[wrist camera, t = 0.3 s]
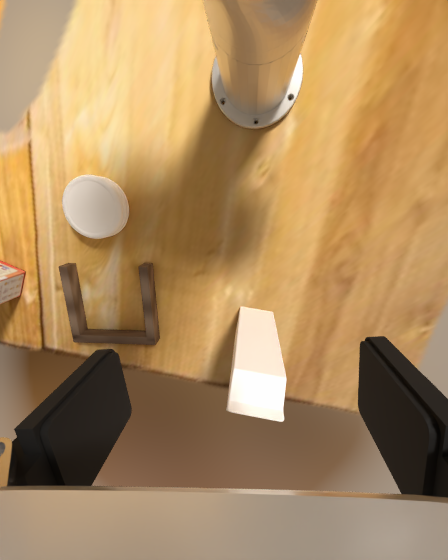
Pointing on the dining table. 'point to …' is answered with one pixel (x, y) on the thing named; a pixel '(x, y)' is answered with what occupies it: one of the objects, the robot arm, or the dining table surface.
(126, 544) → the robot arm
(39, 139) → the dining table surface
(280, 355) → the milk
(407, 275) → the dining table surface
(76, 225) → the white plate stack
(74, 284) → the bay
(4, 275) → the cracker box
